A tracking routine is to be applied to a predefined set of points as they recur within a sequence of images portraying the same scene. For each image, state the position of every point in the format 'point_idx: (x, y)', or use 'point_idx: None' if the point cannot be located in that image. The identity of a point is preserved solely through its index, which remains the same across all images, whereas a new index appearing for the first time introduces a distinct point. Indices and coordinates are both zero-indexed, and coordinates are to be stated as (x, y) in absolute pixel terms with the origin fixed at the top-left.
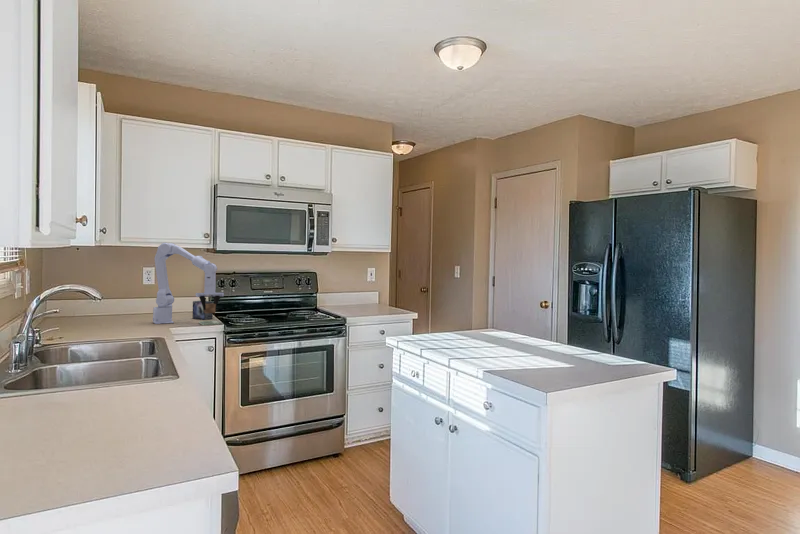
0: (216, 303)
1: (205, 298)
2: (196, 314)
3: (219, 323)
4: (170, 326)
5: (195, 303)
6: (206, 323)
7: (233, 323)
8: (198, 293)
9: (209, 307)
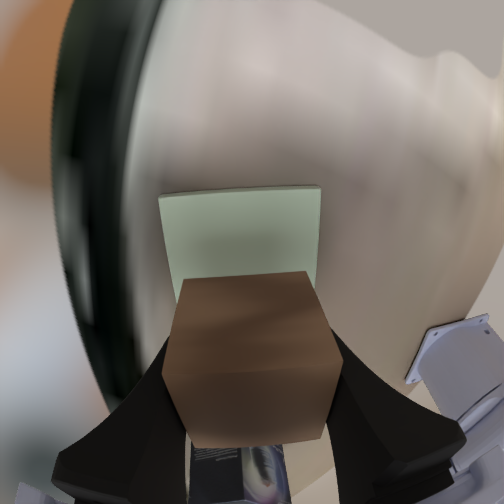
0: (144, 395)
1: (399, 451)
2: (273, 450)
3: (162, 195)
4: (489, 205)
5: (283, 502)
6: (286, 189)
7: (58, 208)
8: (500, 497)
9: (271, 325)
